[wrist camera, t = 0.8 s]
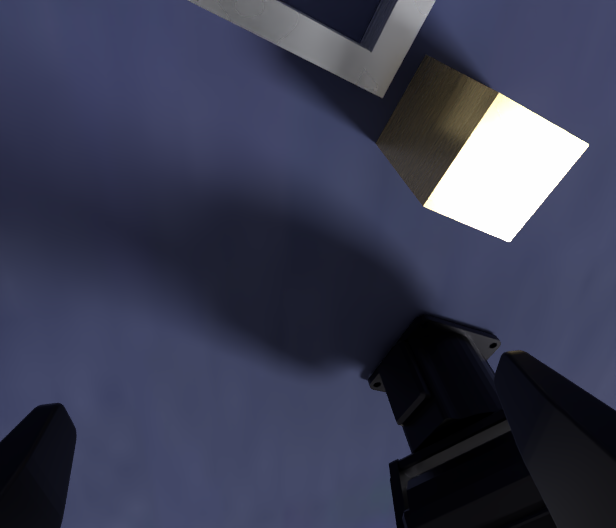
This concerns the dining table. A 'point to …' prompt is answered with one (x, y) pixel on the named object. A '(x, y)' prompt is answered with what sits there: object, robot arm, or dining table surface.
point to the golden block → (474, 150)
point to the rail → (334, 36)
